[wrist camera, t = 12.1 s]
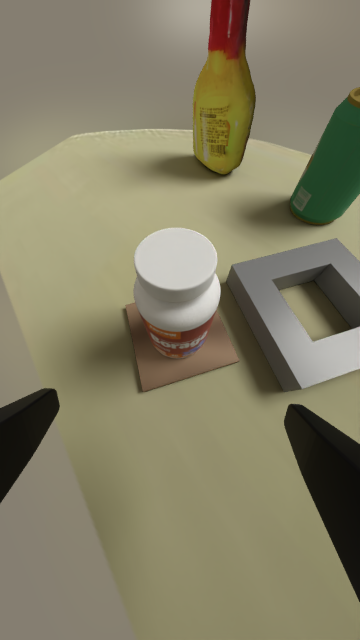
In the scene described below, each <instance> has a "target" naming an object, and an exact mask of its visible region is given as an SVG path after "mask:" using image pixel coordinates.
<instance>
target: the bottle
mask: <svg viewBox="0 0 360 640" xmlns="http://www.w3.org/2000/svg"><path fill="white" fill-rule="evenodd" d="M249 6H250V0H212V2H211V15H210V36H209V43H208V44H209V45H208V58H207V61H206V64H205V65H204V67H203V69H202V71H201V73H200V75H199V78H198V80H197V83H196V86H195V90H194V97H193V149H194V154H195V156H196V157H197V158H198V160H200V161H201V162H202V163H203V164H204V165H205V166H207V167H208V168H209V169H211V170H213V171H216V172H218V173H220V174H228V173H229V172H231V171H232V170H234V169H235V168H237V167H238V166H239V165H240V164H241V162H242V159H243V156H244V152H245V149H246V144H247V141H248V138H249V135H250V129H251V125H252V121H253V115H254V109H255V101H256V97H255V89H254V85H253V82H252V79H251V75H250V70H249V67H248V63H247V61H246V56H245V49H246V30H247V20H248V13H249Z"/></svg>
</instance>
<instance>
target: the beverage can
mask: <svg viewBox="0 0 360 640" xmlns="http://www.w3.org/2000/svg"><path fill="white" fill-rule="evenodd" d="M359 194H360V87H359V88H355V89H353V90H352V91H351V92H350V94H349V96H348V97H347V98H346V99H345V100H344V101H343V102H342V103H341V104H340V105H339V106H338V107H337V108H336V109H335V111H334V113H333V115H332V117H331V119H330V121H329V123H328V125H327V127H326V129H325V131H324V133H323V135H322V137H321V139H320V141H319V143H318V145H317V147H316V149H315V151H314V153H313V154H312V156H311V158H310V160H309V162H308V164H307V166H306V168H305V170H304V172H303V174H302V176H301V178H300V180H299V182H298V184H297V186H296V188H295V190H294V192H293V194H292V196H291V199H290V201H291V205H290V210H291V212H292V214H293V215H294V216H295V217H297V218H298V219H299V220H301V221H303V222H306V223H309V224H314V225H324V224H328V223H331V222H332V221H334V220H335V219H337V218H339V217H340V216H342V215H343V213H344V212H345V211H346V210H347V209H348V207H349V206H350V205H351V204H352V202H353V201H354V200H355V199H356V197H357V196H358V195H359Z"/></svg>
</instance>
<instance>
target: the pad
mask: <svg viewBox="0 0 360 640" xmlns="http://www.w3.org/2000/svg"><path fill="white" fill-rule="evenodd" d="M126 310H127V315H128V320H129V325H130V330H131V335H132V340H133V345H134V350H135V355H136V360H137V365H138V370H139V375H140V380H141V385H142V390H143V392H146V391H149V390H152V389H155V388H159V387H162V386H165V385H168V384H171V383H174V382H177V381H180V380H183V379H187V378H190V377H193V376H196V375H199V374H202V373H205V372H208V371H211V370H215V369H218V368H221V367H224V366H227V365H230V364H233V363H236V362H239V361H240V360H239V358H238V356H237V354H236V352H235V349H234V347H233V345H232V343H231V341H230V338H229V336H228V334H227V332H226V330H225V327H224V325H223V323H222V321H221V318H220V316H219V314H218V312H217V310H216V313H215V315H214V318H213V321H212V324H211V327H210V330H209V332H208V335H207V338H206V341H205V343H204V344H203V346H202V347H201V349H200V350H199V351H197V352H196V353H195V354H193V355H191V356H189V357H186V358H171V357H167V356H165V355H163V354H162V353H160V352H159V351H158V350H157V349H156V348H155V347H154V345H153V344H152V342H151V340H150V337H149V335H148V333H147V330H146V328H145V325H144V323H143V321H142V318H141V316H140V314H139V311H138V309H137V306H136V303H132V304H128V305H126Z"/></svg>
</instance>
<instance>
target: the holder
mask: <svg viewBox="0 0 360 640" xmlns="http://www.w3.org/2000/svg"><path fill="white" fill-rule="evenodd" d="M313 280H314V281H315V282H316V283H317V285H318V286H319V287H320V288H321V290H322V291H323V292H324V293H325V295H326V296H327V297H328V299H329V300H330V301H331V302H332V304H333V305H334V306H335V307H336V309H337V310H338V311H339V312H340V314H341V315H342V316H343V318H344V319H345V320H346V321H347V323H348V324H349V325H350V326H351V328H352V329H351V330H348V331H345V332H342V333H339V334H336V335H333V336H330V337H327V338H323V339H320V340H317V341H314V342H313V341H312V340H311V338H310V337H309V335H308V334H307V332H306V331H305V329H304V328H303V326H302V325H301V323H300V322H299V320H298V319H297V317H296V316H295V314H294V313H293V311H292V310H291V308H290V307H289V305H288V304H287V302H286V301H285V299H284V298H283V296H282V294H281V293H280V291H279V290H281V289H285V288H288V287H292V286H295V285H299V284H302V283H306V282H310V281H313ZM226 282H227V284H228V286H229V287H230V289H231V291H232V293H233V295H234V297H235V299H236V301H237V303H238V305H239V307H240V309H241V310H242V312H243V314H244V316H245V318H246V320H247V322H248V324H249V326H250V328H251V330H252V332H253V333H254V335H255V337H256V339H257V341H258V343H259V345H260V347H261V349H262V351H263V353H264V355H265V356H266V358H267V360H268V362H269V364H270V366H271V368H272V370H273V372H274V374H275V376H276V378H277V379H278V381H279V383H280V385H281V387H282V389H283V391H284V392H288V391H294V390H299V389H304V388H306V387H309V386H312V385H315V384H318V383H320V382H323V381H326V380H329V379H332V378H335V377H337V376H340V375H343V374H346V373H349V372H351V371H354V370H357V369H360V261H359V260H358V259H357V258H356V257H355V256H354V255H353V254H352V253H351V252H350V251H349V250H348V249H347V248H346V247H345V246H344V245H343V244H342V243H341V242H340V241H339V240H338V239H337V238H336V239H332V240H328V241H324V242H320V243H316V244H312V245H308V246H304V247H300V248H296V249H292V250H288V251H284V252H281V253H277V254H273V255H269V256H265V257H261V258H257V259H253V260H249V261H245V262H241V263H237V264H233V265H232V266H231V269H230V272H229V275H228V278H227V281H226Z"/></svg>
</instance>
